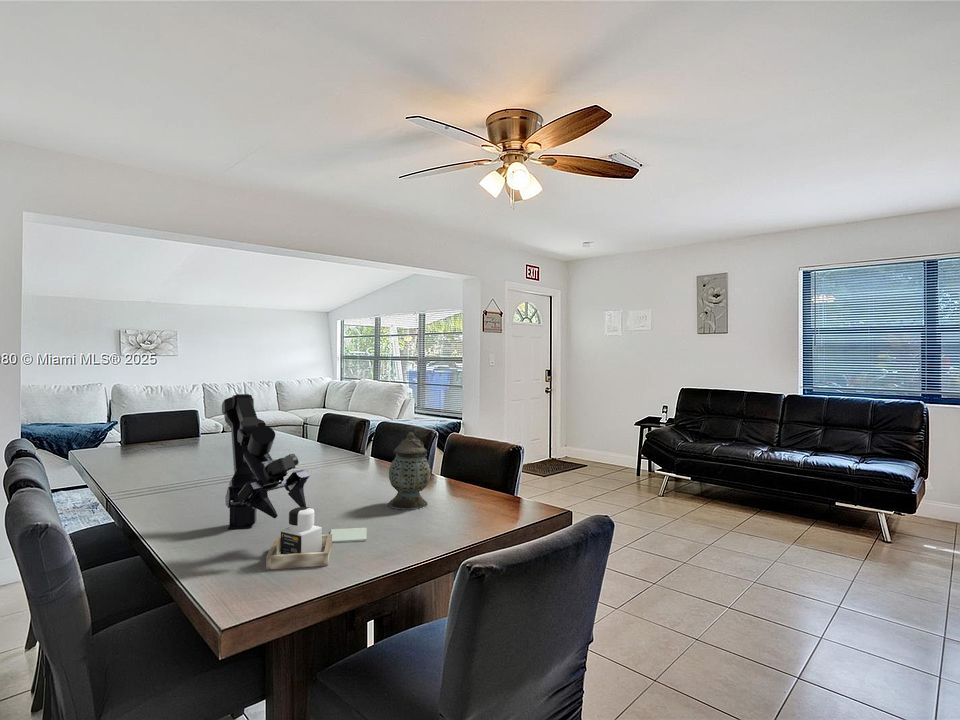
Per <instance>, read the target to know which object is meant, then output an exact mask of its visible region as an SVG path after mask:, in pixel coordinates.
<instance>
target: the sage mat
mask: <svg viewBox="0 0 960 720" xmlns="http://www.w3.org/2000/svg"><path fill="white" fill-rule="evenodd" d="M367 529H368V527H352V528H351V527H350V528H331V529H330V533H329V534H332V544H333V543H351V542H352V543H353V542H367V536H368V534H367V533H368V530H367Z"/></svg>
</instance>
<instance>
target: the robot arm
mask: <svg viewBox="0 0 960 720" xmlns="http://www.w3.org/2000/svg"><path fill="white" fill-rule="evenodd" d="M221 414H222V415H224V422H225V423H226V424H227V426H229V427H230V433H231V446H232V459H233V472H234V473H233V476H232V478H231V480H230V481H229V484H228V487H227V489H226V493H225V498H224V499H225V506H226V508H228V509H229V522H228V523H229V525H228V526H227V529H229V530H231V529H235V530H236V529H251V528H253V526H254V525H255V524H256V522H257V512H258V511H257V510H259V511H260V512H262V513H264V514H266V515H268V516H269V517H271V518H273V519H277V517H278V513H277V510H276V508H275V506H274V505H273V503H272V501H271V500H270V497H269V496H268V492H270V491H274V490H278V489H283V488H284V489H285V491H287V492H288V493H287V495H288V496H290V498H291V499H292V500H293V501H294V502H295V504H297V506H298V507H307V503H306V502H307V501H306V498H305V493H304V492H305V491H304V489H305V487H304V486H305V484H306V483H307V481H308V479H309V478H310V475H309V473H308V472H307V470H306V469H305V470H303V469H301V470H296V471H292V473H290V475H289V476H288V477H287V478H285V477H286V476H287V475H288V474H289V472H288V471H290V470H292V469H293V470H294V469H296V468H297V467H296V466H298V465H299V462H300V461H299V459H298V456H296V454H295V453H289V454H288V455H285V457H284V456H283V457H280V458H278V459H273V458H272V456H271V455H270V453H271V451H272V450H271V449H272V447H273V444H274V441H275V438H276V431H274V429H273V428H272V427H270V426H268V425H266V422H265V421H264V420H262V419H260V418H259V417H258V416H257V413H256V410H255V403H254V398H253V395H252V394H249V393H242V394H241V393H237V394H235V395H234V394H233V395H232V396H231V397H227V398H225V399H224V400H223V401H222V403H221Z"/></svg>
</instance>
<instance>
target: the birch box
mask: <svg viewBox="0 0 960 720" xmlns="http://www.w3.org/2000/svg"><path fill="white" fill-rule="evenodd" d="M332 546H333V543H332V534H330V533H327V534H323V533H322V548H324V550H323V551H321V552H313V553H294V554H280V548H281V536H276V537H275V539H274V541H273V543H272V545H271V547H270V548H269V551H268V552H267V555H266V557H265V559H266V561H265V569H266V570H276V569H277V570H279V569H291V568H292V569H293V568H294V569H295V568H307V567H308V568H309V567H313V568H314V567H325V566H327V567H328V565H329V562H330V557H331V552H332Z"/></svg>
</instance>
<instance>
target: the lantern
mask: <svg viewBox="0 0 960 720" xmlns="http://www.w3.org/2000/svg"><path fill="white" fill-rule="evenodd" d="M393 454H394V455H395V457H394V459H393V460H392V461H391V463H390V466H389V468H388V479H389V482H390V485H391V487H393V489H395V490H396V492H397V493H396V495H395V496H394V497H393V498H392V499H391V500H390V501H389V502H387V507H388V506H389V507H390V509H391V508H392V509H391V510H395V509H397V510H396V511H403V510H408V511H416V510H415V509H418V510H421V509H420V508H422V509H424V508H423V507H425V508H427V506H428V502H427V501H426V500H425V499H424V498H423V497H422V495H421V493H420V492H422V491H423V490H424V489H425V488H426V487H427V486H428V485H429V483H430V480H431V475H432V472H431V471H432V469H431V467H430V460H428V459H427V457H428V450H427V449H426V448H425V447H424V443H423V441H421V440H420V439H419V438H418V437H416V436H415V434H414V432H412V431H409V432H408V433H406V438H405V439H402V441H401V442H400V444H398V446H396V448H395V449H393ZM389 507H388V508H389Z"/></svg>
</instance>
